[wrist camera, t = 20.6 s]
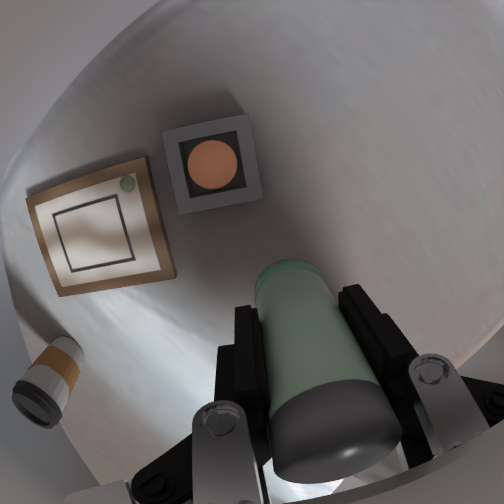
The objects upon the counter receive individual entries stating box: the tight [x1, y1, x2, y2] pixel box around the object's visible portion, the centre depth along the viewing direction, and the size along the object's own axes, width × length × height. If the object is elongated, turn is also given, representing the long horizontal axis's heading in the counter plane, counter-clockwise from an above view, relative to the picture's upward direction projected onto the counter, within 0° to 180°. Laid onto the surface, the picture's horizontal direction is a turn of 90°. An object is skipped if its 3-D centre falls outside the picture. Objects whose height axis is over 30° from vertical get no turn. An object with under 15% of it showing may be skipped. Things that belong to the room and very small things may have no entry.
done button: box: [188, 140, 237, 189], centre depth 30 cm, size 5×5×2 cm
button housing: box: [161, 114, 264, 215], centre depth 30 cm, size 9×9×3 cm
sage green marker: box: [254, 259, 403, 484], centre depth 9 cm, size 3×3×8 cm
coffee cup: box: [12, 336, 84, 429], centre depth 34 cm, size 8×8×15 cm
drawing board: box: [26, 156, 177, 297], centre depth 33 cm, size 15×19×1 cm
